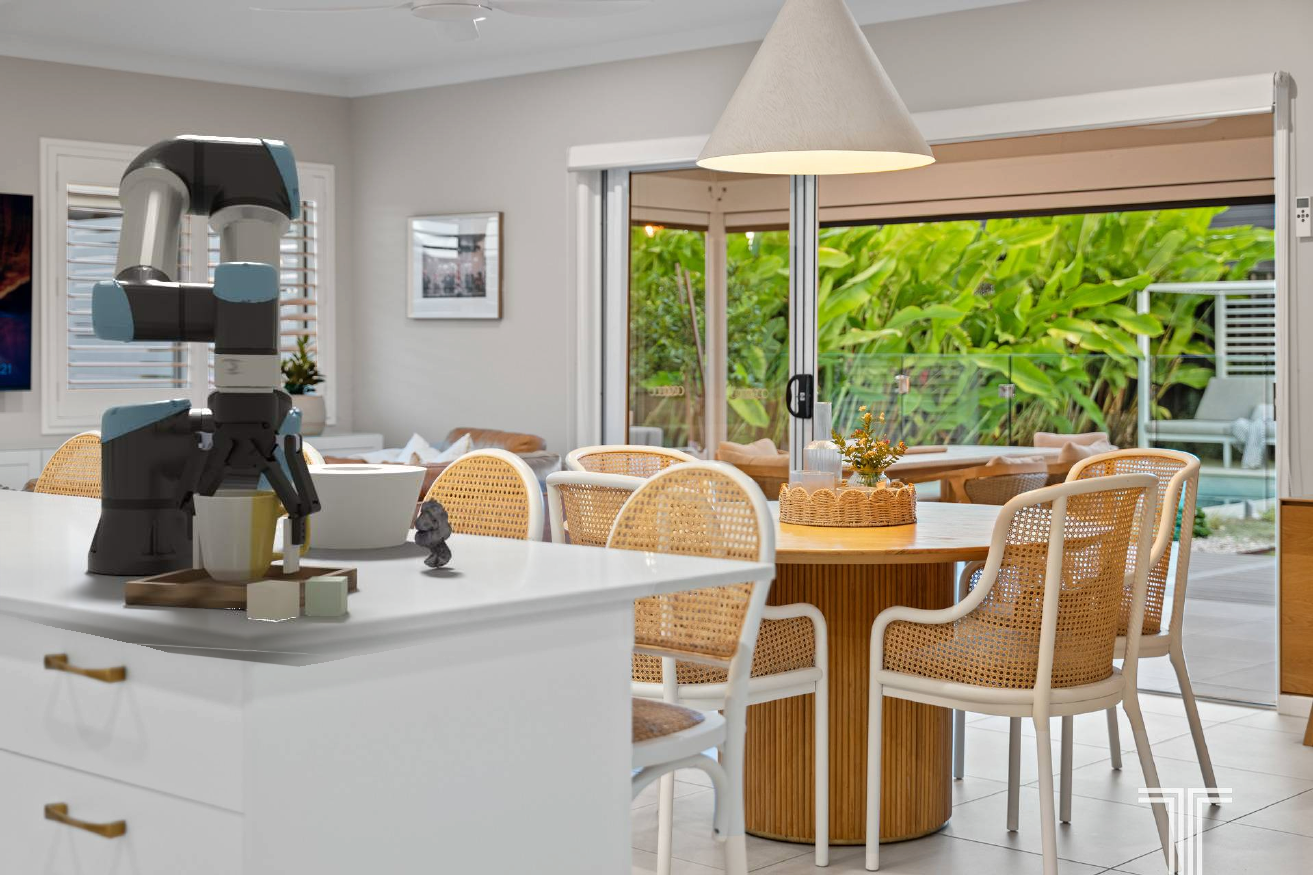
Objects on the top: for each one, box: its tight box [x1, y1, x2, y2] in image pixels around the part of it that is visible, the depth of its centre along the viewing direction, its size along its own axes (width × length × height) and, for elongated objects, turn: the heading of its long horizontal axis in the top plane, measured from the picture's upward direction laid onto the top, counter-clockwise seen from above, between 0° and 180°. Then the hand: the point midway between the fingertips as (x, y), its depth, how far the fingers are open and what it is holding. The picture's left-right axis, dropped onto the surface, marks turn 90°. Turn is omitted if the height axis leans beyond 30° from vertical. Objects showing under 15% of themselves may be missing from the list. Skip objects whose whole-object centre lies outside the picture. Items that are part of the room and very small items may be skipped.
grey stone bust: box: [413, 496, 453, 569], centre depth 204 cm, size 5×5×10 cm
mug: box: [193, 490, 311, 581], centre depth 176 cm, size 14×10×10 cm
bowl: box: [291, 463, 428, 550], centre depth 233 cm, size 24×24×12 cm
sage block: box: [304, 577, 349, 617], centre depth 164 cm, size 4×4×4 cm
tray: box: [124, 563, 358, 610], centre depth 176 cm, size 20×20×2 cm
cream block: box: [246, 580, 300, 621], centre depth 160 cm, size 4×4×4 cm
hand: (246, 569), depth 176 cm, fingers closed on mug, 11 cm apart
